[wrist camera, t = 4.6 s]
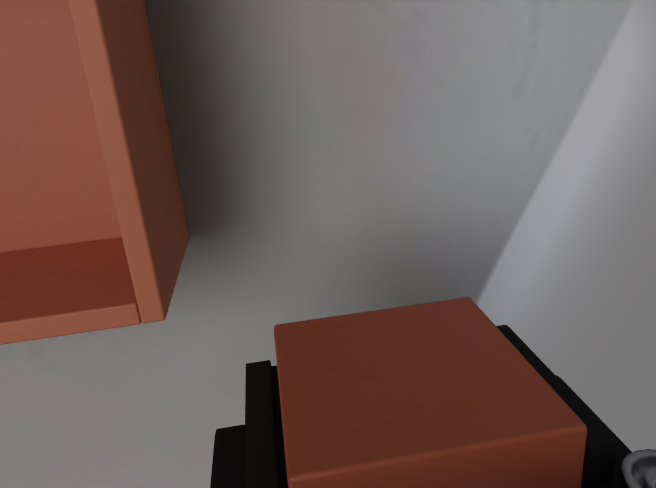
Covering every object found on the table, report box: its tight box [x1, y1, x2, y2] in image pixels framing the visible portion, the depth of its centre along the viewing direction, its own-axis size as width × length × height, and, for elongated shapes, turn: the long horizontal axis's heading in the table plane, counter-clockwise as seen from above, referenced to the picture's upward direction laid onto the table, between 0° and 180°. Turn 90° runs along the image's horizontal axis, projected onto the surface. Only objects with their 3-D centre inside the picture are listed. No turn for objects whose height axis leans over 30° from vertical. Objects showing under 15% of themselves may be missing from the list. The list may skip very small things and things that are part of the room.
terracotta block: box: [274, 297, 587, 488], centre depth 10 cm, size 4×4×4 cm
